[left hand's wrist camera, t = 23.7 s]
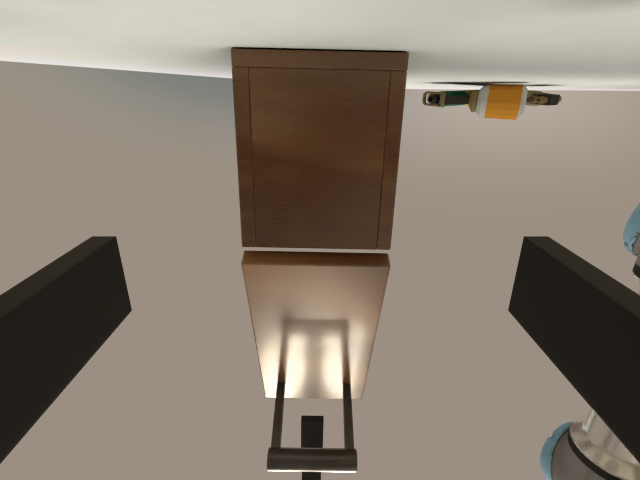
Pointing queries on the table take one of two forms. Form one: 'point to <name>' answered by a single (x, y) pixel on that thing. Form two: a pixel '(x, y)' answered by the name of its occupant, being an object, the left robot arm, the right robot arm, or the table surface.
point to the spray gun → (493, 100)
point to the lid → (314, 338)
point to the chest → (318, 146)
